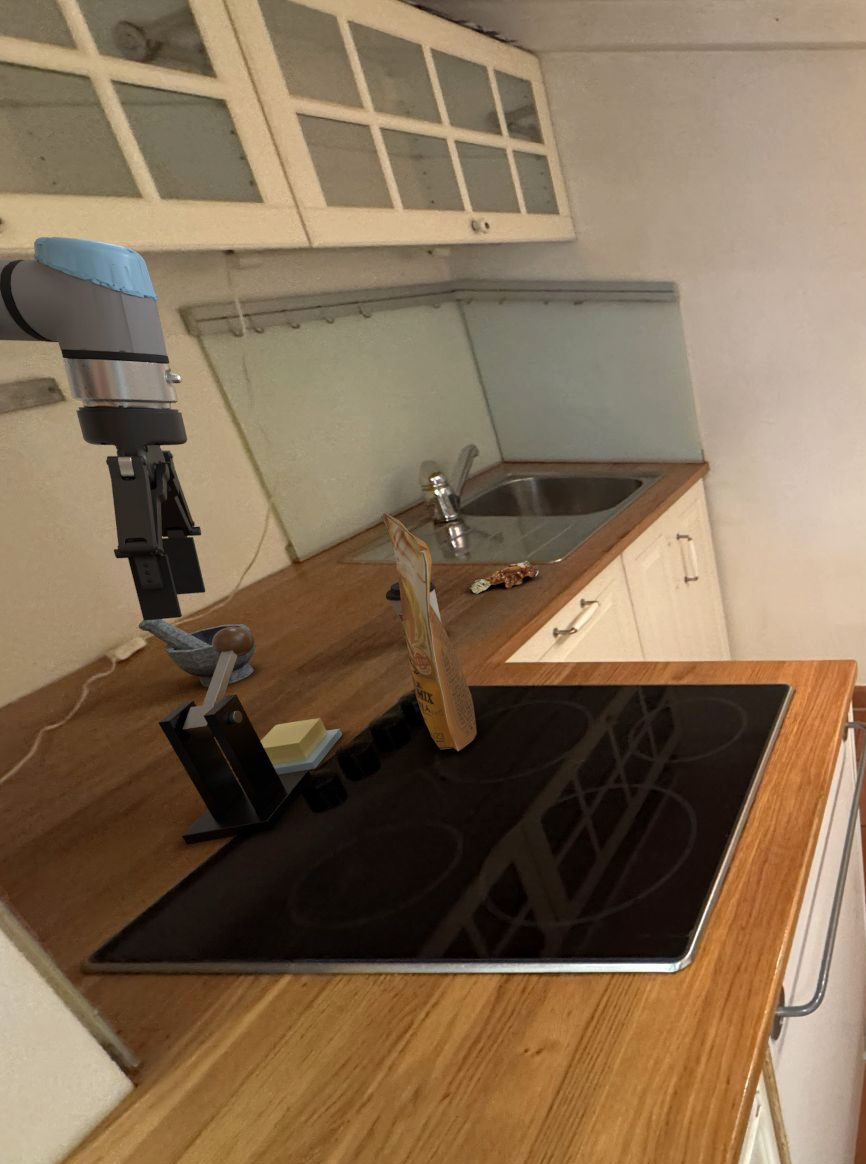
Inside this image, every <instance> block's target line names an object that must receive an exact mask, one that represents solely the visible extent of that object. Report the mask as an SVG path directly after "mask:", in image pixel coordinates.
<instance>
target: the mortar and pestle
mask: <svg viewBox="0 0 866 1164" xmlns="http://www.w3.org/2000/svg"><path fill="white" fill-rule="evenodd" d="M137 626H138V628H139V630H141V631H144V632H149V633H150V634H151V635H153V636H155V637H156V638H157V639H159V640H161V641H162V642H164V643H165V644H166V645H165V646H164V647H163V648H164V650H165V652H166V654H167V655H168V657H169V658H170V659H171V661H172V662H173V663H174V664H175V665H176V666H177V667H178V668H179V669H180V670H181V671H183V672H185V673H186V674H189V675H191V676H195V677H199V678H198V679H199V681H200V683H201V685H202V686H203V687H204V688H209V686H210V683H211V680H212V677H213V674H214V672H215V669H216V666H217V663H218V660H219V657H220V655H221V654H219V653H218V652H217V651H216V650H215V649H214V647H213V644H212V640H213V637H214V635H215V634H216V633H217V632H218V631H220V630H222V629H224V628H227V627H240V628H243V629H246V630H247V631H249V632H250V633H251V634H252V635H253V633H252V630H251V628H250V627H248V626H247V625H246V624H245V623H231V624H221V625H216V626H211V627H207V628H202V629H198V630H196V631H193V632H186V631H184V630H183V629H180V628H179V627H176V626H175V625H173V624H171V623H169V622H167V621H166V620H165V619H156V620H145V621H144V620H143V619H142V620H141V621H140V622H139V624H138V625H137ZM255 649H256V642H255V640H254V646H253V648H252V650H251V651H250V652H248V653H247V654H245V655H243V656H240V657H237V659H236V662H235V665H234V668H233V671H232V674H231V676H230V679H229V682H228V685H230V684H234V683H236V682H240V681H241V680H243V679H246V678H247V677H249V676H250V675H252V673H253V672H254V671H255V670H254V668H253V667H252V665H250V663H249V661H250V660H251V659H252V657H253V656H254V653H255Z"/></svg>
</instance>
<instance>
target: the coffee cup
mask: <svg viewBox="0 0 866 1164" xmlns="http://www.w3.org/2000/svg"><path fill="white" fill-rule="evenodd" d="M435 589H436V585H435V584H434V583H433V582H431V581H430V605H431V606H432V608H433V610H434V611H435V613H436V614H437V616H438V618H439V619H440V621H441V622H442V617H441V614H440V609H439V604H438V599H437V595H436V590H435ZM385 600H388V602H389V604H390V606H391V607H392V609H393V610H394V612H395V614H396V616H397V618H398V619H399V621H400V624H401V625H402V627H403V628H404V624H403V617H402V608H401V595H400V587H399V581H396V582H394V583H393V584H392V585H390V589H389V590H387V591H386V593H385Z"/></svg>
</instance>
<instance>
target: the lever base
mask: <svg viewBox="0 0 866 1164" xmlns="http://www.w3.org/2000/svg"><path fill="white" fill-rule="evenodd" d="M242 704H243V703H241V700H240V699H239V697H238V694H229V695H224V697H223V699H222V700H221V701H220V702H219V703H217V704H216V705H215V706H214V707H213V708H212V709H211V710H209V711H208V712H207V713H206V714H205V715H204V718H205V720H206V722H207V723H208V725H209V727H210V729H211V731H212V733H213V734H214V736H215V737H213V738H207V739H200V740H197V739H196V738H194V737H193V736H192V735H190V734H189V733H187V732H186V731H184V730H183V727H184V724H185V721H186V718H187V716H188V713H189V710H190V708H191V707H196V706H197V704H196V702H195V700H187V701H183V702H181V703H180V704H179V705H178V706H176V707H175V708H174V709H173V710H172V711H170V712H169V713H168V714H166V715H165V716H164V717H163V718H162V719H161V720H159V721H158V725H159V727H160V728H161V730H162V732H163V734H164V735H165V737H166V738H167V740H168V742H169V744H170V746H171V748H172V749H173V751H174V752H175V753H174V754H175V755H176V756H177V758H178V760H179V762H180V763H181V764H182V767H183V768H184V770H185V772H186V774H187V775H188V777H189V778H190V780H191V782H192V784H193V786H194V787H195V789H196V790H197V792H198V794H199V796H200V798H201V799H202V801H203V803H204V805H205V806H206V809H205V810H204V812H202V814H201V815H200V816H199V817H197V819H196V820H195V821H194V822H193V823H192V824H191V825H190V826H189V827H188V829H187V830H186V831H185V832H184V833H183V834H182V835H181V837H182V839H183V840H184V842H185V844H186V845H189V844H195V843H200V842H201V843H202V842H207V841H211V840H212V841H213V840H218V839H223V838H228V837H229V838H230V837H235V836H239V835H245V834H251V833H256V832H262V831H267V830H272V829H273V828H274V827H275V825H276V824H277V823H278V822H279V820H280V819H281V818H282V816H283V815H284V814H286V811H288V809H289V808H290V807H291V805H292V804H293V803H294V801H295V800H296V799H297V798H298V797H299V795H300V794H301V792H302V791H303V790H304V789H305V788H306V786H307V785H308V784H309V783H310V781H311V780H312V779H313V775H312V774H311V770H310V769H309V770H303V771H297V772H291V773H285V774H279V775H278V774H277V772H276V770H275V768H274V766H273V764H272V763H271V761H270V759H269V757H268V755H267V753H266V751H265V749H264V747H263V745H262V743H261V739H260V737H259V736H258V733H257V731H256V729H255V728H254V726H253V724H252V721H251V720H250V718H249V716H248V714H247V712H246V710H245V709H244V706H243V705H242Z"/></svg>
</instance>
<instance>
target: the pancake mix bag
mask: <svg viewBox="0 0 866 1164" xmlns="http://www.w3.org/2000/svg"><path fill="white" fill-rule="evenodd" d="M380 518H381V520H382V522H383V523H384V526H385V528H386V530H387V533H388V536H389V539H390V542H391V545H392V550H393V553H394V557H395V562H396V573H397V582H399V587H400V595H401V608H402V617H403V624H404V627H403V629H404V636H405V642H406V650H407V656H408V662H409V668H410V673H411V679H412V682H413V688H414V693H415V697H416V700H417V703H418V706H419V710H420V713H421V715H422V717H423V721H424V723H425V725H426V727H427V729H428V732H429V734H430V737H431V739H432V740H433V741H434V743H435V744H436V745H437V747H438V748H439V750H441V751H443V750H449V749H454V750H455V751H457V752H459V751H461V750H463V749H464V748H465V747H466V746H468V745H469V744H470V743H472V741H474V740H475V738H476V736H477V735H478V731H477V721H476V715H475V707H474V706H475V705H474V701H473V695H472V693H471V690H470V687H469V685H468V682H467V680H466V677H465V674H464V671H463V668H462V666H461V663H460V660H459V658H458V655H457V653H456V651H455V649H454V647H453V645H452V643H451V639H450V638H449V636H448V633H447V631H446V629H445V627H444V625H443V622H442V620H441V621H440V619H439V618H438V616H437V614H436V613H435V611H434V610H433V608H432V606H431V605H430V582H431V577H432V576H431V575H432V565H433V560H432V556H431V552H430V548H429V547H428V544H427V542H425V541H423V540H422V539H420V538H418V536H415V535H414V534H412V532H410V531H409V530H408V529H407V528H406V526H405V525H404V524H403V523H402V522H401V521H400V520H399V519H398V518H396V517H394V516H391V515H389V514H387V513H386V512H384V513H383V514H382V515H381V516H380Z"/></svg>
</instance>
